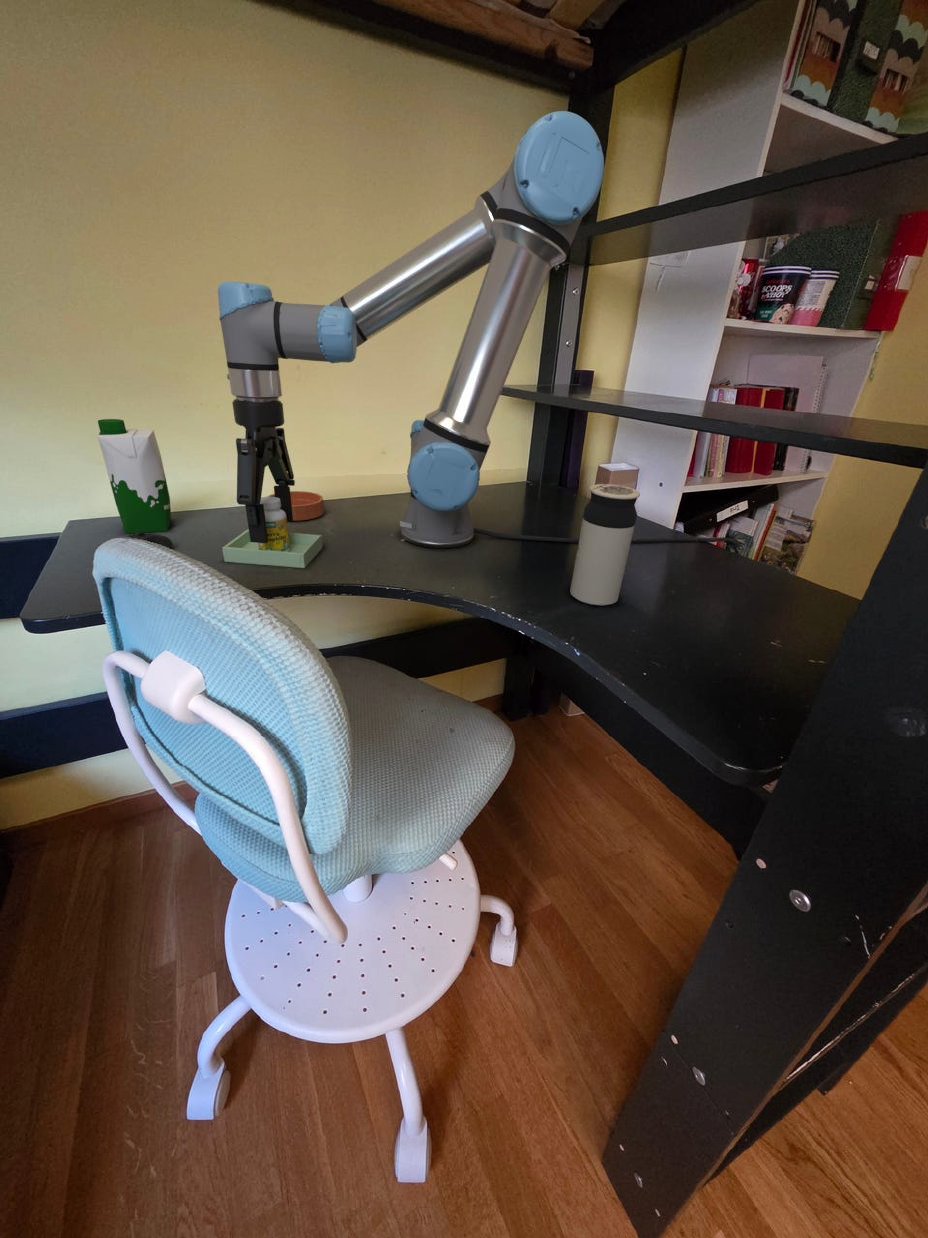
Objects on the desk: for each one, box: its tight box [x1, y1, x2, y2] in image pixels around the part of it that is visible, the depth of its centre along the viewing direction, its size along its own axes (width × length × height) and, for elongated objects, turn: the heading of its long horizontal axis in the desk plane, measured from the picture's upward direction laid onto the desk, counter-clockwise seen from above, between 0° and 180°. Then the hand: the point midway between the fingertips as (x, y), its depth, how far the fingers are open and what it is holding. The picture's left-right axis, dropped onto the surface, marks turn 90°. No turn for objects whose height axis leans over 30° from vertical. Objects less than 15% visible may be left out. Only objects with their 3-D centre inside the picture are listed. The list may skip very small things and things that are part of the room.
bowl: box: [266, 490, 325, 522], centre depth 115 cm, size 12×12×4 cm
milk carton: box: [97, 418, 172, 534], centre depth 97 cm, size 9×9×20 cm
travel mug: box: [569, 483, 641, 606], centre depth 82 cm, size 8×8×18 cm
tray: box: [221, 528, 323, 569], centre depth 93 cm, size 14×10×3 cm
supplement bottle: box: [258, 496, 290, 552], centre depth 91 cm, size 5×5×10 cm
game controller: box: [126, 532, 173, 549], centre depth 89 cm, size 10×5×6 cm
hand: (273, 531), depth 91 cm, fingers open, 11 cm apart
